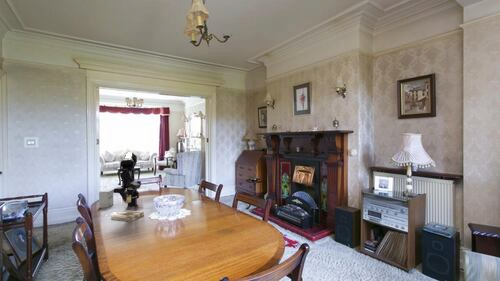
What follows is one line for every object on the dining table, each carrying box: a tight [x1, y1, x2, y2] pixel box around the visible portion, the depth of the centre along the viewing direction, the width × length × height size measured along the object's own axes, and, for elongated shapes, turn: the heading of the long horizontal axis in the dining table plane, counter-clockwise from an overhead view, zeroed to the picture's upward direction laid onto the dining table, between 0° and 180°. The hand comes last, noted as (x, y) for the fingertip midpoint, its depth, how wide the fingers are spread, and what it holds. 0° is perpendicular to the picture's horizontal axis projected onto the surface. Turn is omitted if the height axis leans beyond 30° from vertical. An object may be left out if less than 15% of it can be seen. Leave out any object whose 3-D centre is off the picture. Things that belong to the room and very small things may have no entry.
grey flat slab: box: [104, 211, 122, 217], centre depth 171 cm, size 9×7×1 cm
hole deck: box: [110, 210, 145, 223], centre depth 166 cm, size 14×14×3 cm
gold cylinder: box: [123, 194, 131, 204], centre depth 166 cm, size 4×4×5 cm
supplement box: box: [98, 189, 114, 209], centre depth 194 cm, size 7×7×13 cm
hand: (127, 200), depth 166 cm, fingers closed on gold cylinder, 4 cm apart
